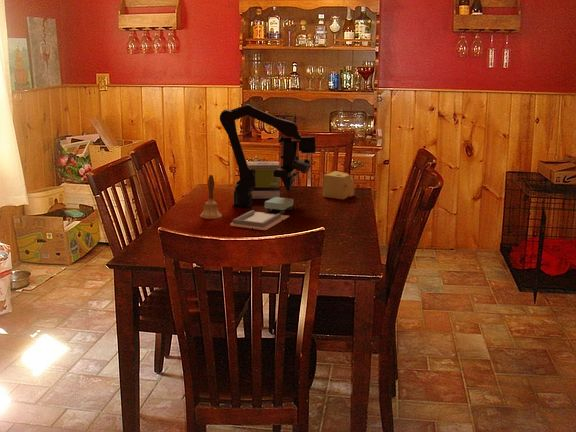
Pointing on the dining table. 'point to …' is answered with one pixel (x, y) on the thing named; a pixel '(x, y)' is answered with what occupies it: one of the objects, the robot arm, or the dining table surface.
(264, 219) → the dock
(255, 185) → the tea box
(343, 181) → the cheese
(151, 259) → the dining table surface
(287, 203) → the sage green box
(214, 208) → the hand bell
